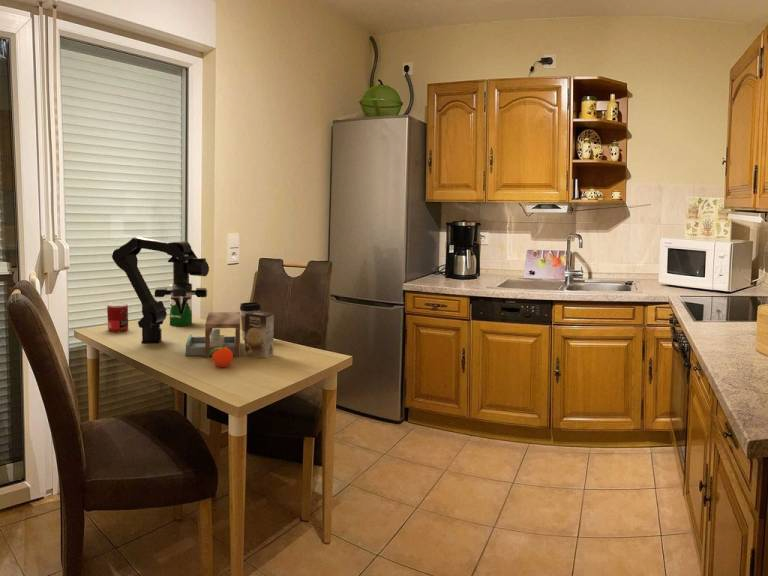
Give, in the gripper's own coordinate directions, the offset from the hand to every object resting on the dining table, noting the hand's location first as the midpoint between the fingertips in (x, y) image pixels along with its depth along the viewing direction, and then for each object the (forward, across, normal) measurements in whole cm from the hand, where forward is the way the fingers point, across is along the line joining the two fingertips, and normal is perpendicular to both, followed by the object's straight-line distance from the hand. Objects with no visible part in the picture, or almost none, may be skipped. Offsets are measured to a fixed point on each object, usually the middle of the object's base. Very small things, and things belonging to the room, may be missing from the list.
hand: (181, 314), depth 223 cm
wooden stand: (+12, +16, -9) cm, 22 cm away
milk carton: (+12, -4, +36) cm, 38 cm away
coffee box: (+12, +29, -17) cm, 36 cm away
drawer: (+12, +12, -9) cm, 19 cm away
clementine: (+12, +16, -31) cm, 37 cm away
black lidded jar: (+12, +26, +8) cm, 30 cm away
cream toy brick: (+11, +13, -9) cm, 19 cm away
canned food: (+12, -28, +26) cm, 40 cm away
